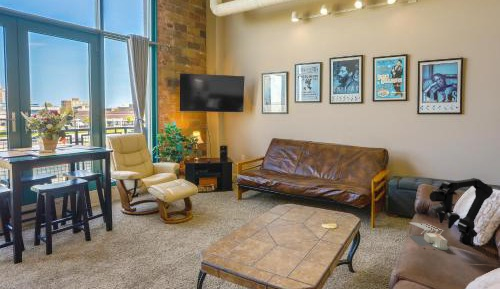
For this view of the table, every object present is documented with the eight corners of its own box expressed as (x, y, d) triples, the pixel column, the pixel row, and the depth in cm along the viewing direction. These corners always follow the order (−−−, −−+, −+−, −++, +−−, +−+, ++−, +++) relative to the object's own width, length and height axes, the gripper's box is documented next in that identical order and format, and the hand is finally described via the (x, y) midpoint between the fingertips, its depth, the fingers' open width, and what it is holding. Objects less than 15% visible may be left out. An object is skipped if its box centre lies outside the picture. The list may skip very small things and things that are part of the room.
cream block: (441, 244, 198) (441, 236, 197) (446, 248, 192) (447, 239, 191) (434, 243, 198) (435, 235, 197) (439, 247, 192) (440, 239, 191)
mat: (433, 237, 212) (434, 236, 211) (452, 251, 191) (452, 249, 191) (407, 236, 212) (407, 234, 212) (423, 250, 191) (423, 248, 191)
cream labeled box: (438, 239, 206) (438, 233, 206) (443, 243, 201) (443, 237, 200) (423, 239, 207) (424, 232, 206) (428, 242, 201) (429, 236, 200)
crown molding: (409, 221, 239) (438, 224, 235) (409, 223, 239) (438, 226, 235) (419, 233, 216) (452, 236, 212) (419, 235, 216) (452, 238, 212)
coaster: (443, 244, 199) (443, 243, 199) (451, 250, 190) (451, 249, 190) (429, 244, 199) (429, 242, 199) (437, 249, 191) (437, 248, 191)
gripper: (426, 196, 207) (424, 220, 209) (442, 205, 189) (439, 230, 190) (443, 197, 207) (441, 220, 208) (461, 206, 188) (459, 231, 190)
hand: (444, 225), depth 199 cm, fingers open, 9 cm apart
